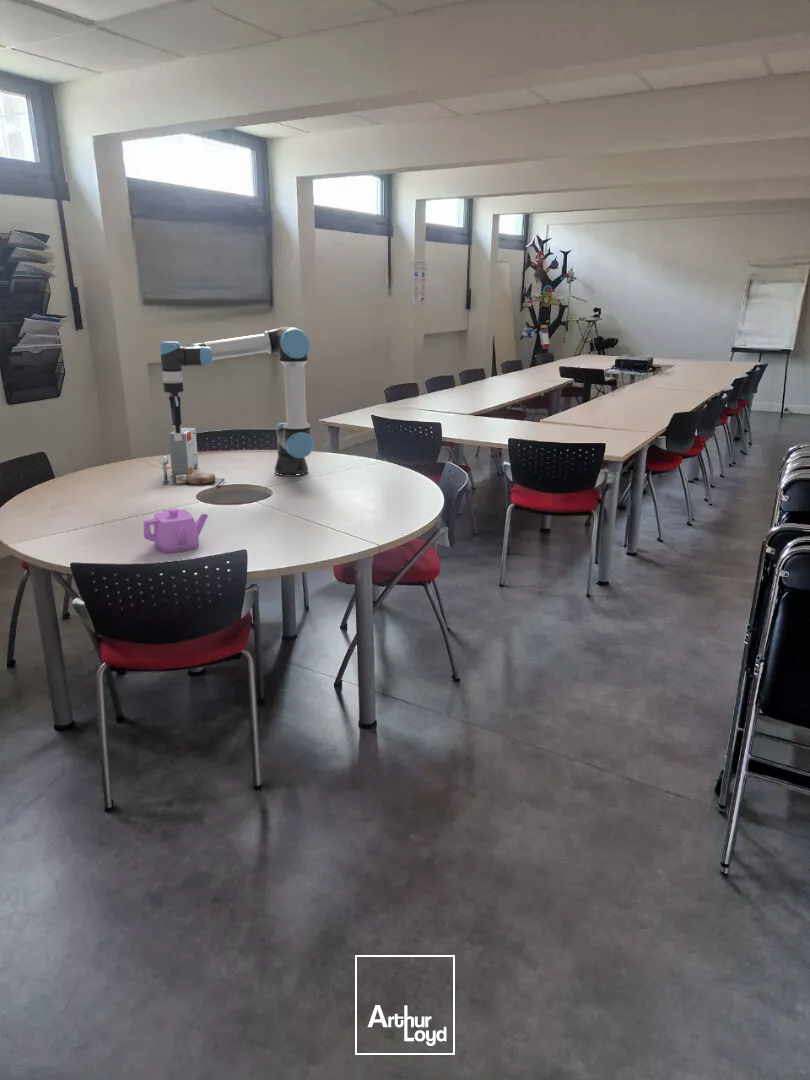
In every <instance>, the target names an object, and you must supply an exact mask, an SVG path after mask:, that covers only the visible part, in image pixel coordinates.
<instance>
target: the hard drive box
mask: <svg viewBox="0 0 810 1080" xmlns="http://www.w3.org/2000/svg"><path fill="white" fill-rule="evenodd" d="M196 429H197V428H196V427H181V434H182V441H175V439H174V430H172V431H171V432H170V433H168V443H169V456H170V467H173V469H170V471H171V475H172V476H176V475H186V476H187V475H190V474H193V473H194V472H195V471H196V470H198V469H199V459H198V458H199V457H198V445H197V444H198V441H197V431H196Z"/></svg>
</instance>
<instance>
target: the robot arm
mask: <svg viewBox="0 0 810 1080" xmlns="http://www.w3.org/2000/svg"><path fill="white" fill-rule="evenodd" d="M310 345H311V344H310V339H309V336H308V335H307V333H305V332H304V331H303V330H302V329H300V328H298V327H293V326H287V325H286V326H283V327H282V326H281V327H278V328H275V329H270V330H265V331H264V332H263V333H261V334H252V335H246V336H240V337H239V336H238V337H232V338H227V339H226V338H225V339H218V340H212V341H205V342H198V343H195V342H193V343H192V342H191V343H188V344H186V345H185V346H181V344H180V342H179V341H172V340H171V341H170V340H168V341H162V342H160V344H159V349H160V350H159V351H160V363H161V372H162V373H161V374H160V376H161V377H162V381H163V391H164V393H167V394H168V393H169V396H168V401H169V405H170V412H171V413H170V414H171V422H172V423H171V425H172V426H173V431H174V439H175V441H182V434H181V428H182V426H181V425H182V414H181V397H180V395H179V393H183V392H184V383H183V381H184V377H183V367H206V366H207V367H209V366H212V364H213V361H215V360H223V359H228V358H235V357H236V358H237V357H242V356H249V355H256V354H262V353H267V354H269V355H271V354H279V355H278V358H279V362H280V363H281V364H282V366H283V379H284V380H283V381H284V395H285V396H284V398H285V414H286V417H285V418H286V422H279V423H278V424H276V442H277V458H276V462H275V465H274V474H276V473H278V474H282V475H296V474H303V473H306V472H307V471H308V472H309V466H308V463H307V460H306V457H308V456H309V455H311V453H312V451H313V449H314V447H315V446H314V445H315V444H314V439H313V437H312V435H311V434H312V433H311V425H310V423H309V422H308V421H307V402H306V400H307V399H306V379H305V377H306V376H305V375H306V374H305V365H306V364H307V363H308V361H309V360H308V353H309V351H310ZM306 474H307V473H306Z"/></svg>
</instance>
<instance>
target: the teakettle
mask: <svg viewBox="0 0 810 1080" xmlns="http://www.w3.org/2000/svg"><path fill="white" fill-rule="evenodd" d="M208 517H209V514H207V513H201V514H200V516H199V517H198V518H197V520H196V521H195V519H194V516H193V515H192V514H191V512H189V511H188V510H186V509H185V508H183V509H179V508H178V509H177V508H170V509H164V510H163V511H161V512H156V513H155V514H154V518H153V519H147V520H143V537H144V539H145V540H147V541H150V542H154V543H155V544H156V545H155V546H156V547H157V548H158V549H159V551H161V552H162V553H164V554H167V555H168V554H174V553H181V552H186V551H191V550H197V549H199V545H200V539H199V536H200V534H201V532H202V530H203V527H204V526H205V524H206V522H207V519H208ZM151 526H153V532H151V531H152V530H151V529H152V528H151Z"/></svg>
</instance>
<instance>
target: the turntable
mask: <svg viewBox="0 0 810 1080" xmlns="http://www.w3.org/2000/svg"><path fill="white" fill-rule="evenodd" d="M175 477H176V482H177V484H178V483H189V484H208V483H212V482H214V481H215V478H216V475H215V474H214V473H211V472H196V473H195V472H193V473H191V474H190V475H175Z"/></svg>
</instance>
